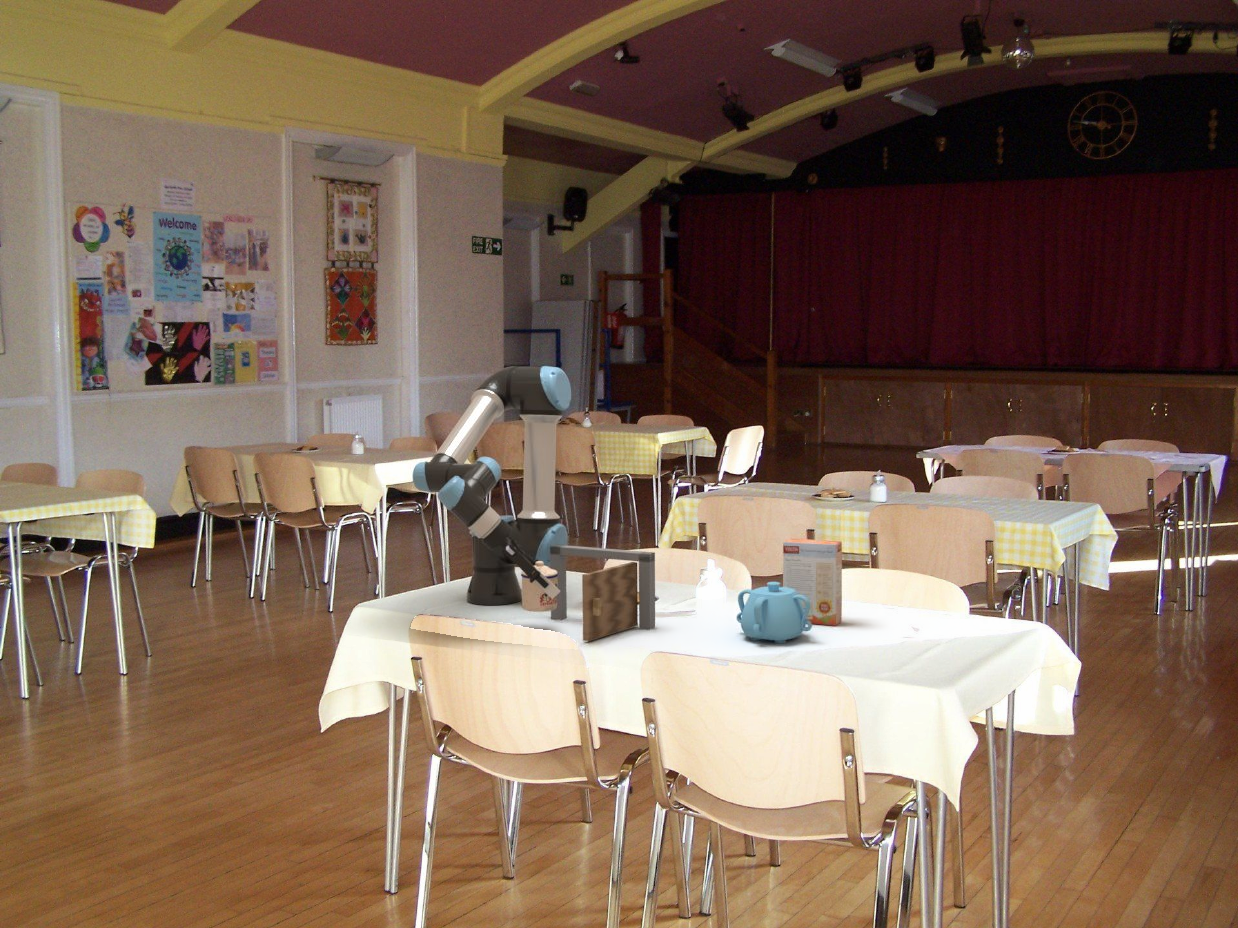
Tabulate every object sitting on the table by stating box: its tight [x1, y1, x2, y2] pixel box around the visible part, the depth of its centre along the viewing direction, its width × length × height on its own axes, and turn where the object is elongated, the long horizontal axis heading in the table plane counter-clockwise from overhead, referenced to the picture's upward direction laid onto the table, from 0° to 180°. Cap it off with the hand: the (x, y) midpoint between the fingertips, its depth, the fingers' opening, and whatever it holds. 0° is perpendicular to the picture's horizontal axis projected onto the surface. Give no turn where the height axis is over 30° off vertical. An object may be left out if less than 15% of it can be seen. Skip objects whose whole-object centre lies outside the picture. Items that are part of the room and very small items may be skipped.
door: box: [581, 561, 639, 642], centre depth 312 cm, size 20×3×16 cm, turn 143°
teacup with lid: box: [520, 561, 558, 613], centre depth 316 cm, size 12×9×12 cm
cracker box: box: [782, 538, 843, 627], centre depth 325 cm, size 14×6×21 cm, turn 65°
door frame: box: [549, 544, 656, 631], centre depth 325 cm, size 3×28×19 cm, turn 63°
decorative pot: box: [736, 581, 813, 644], centre depth 309 cm, size 16×16×14 cm
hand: (554, 590), depth 317 cm, fingers closed on teacup with lid, 11 cm apart
